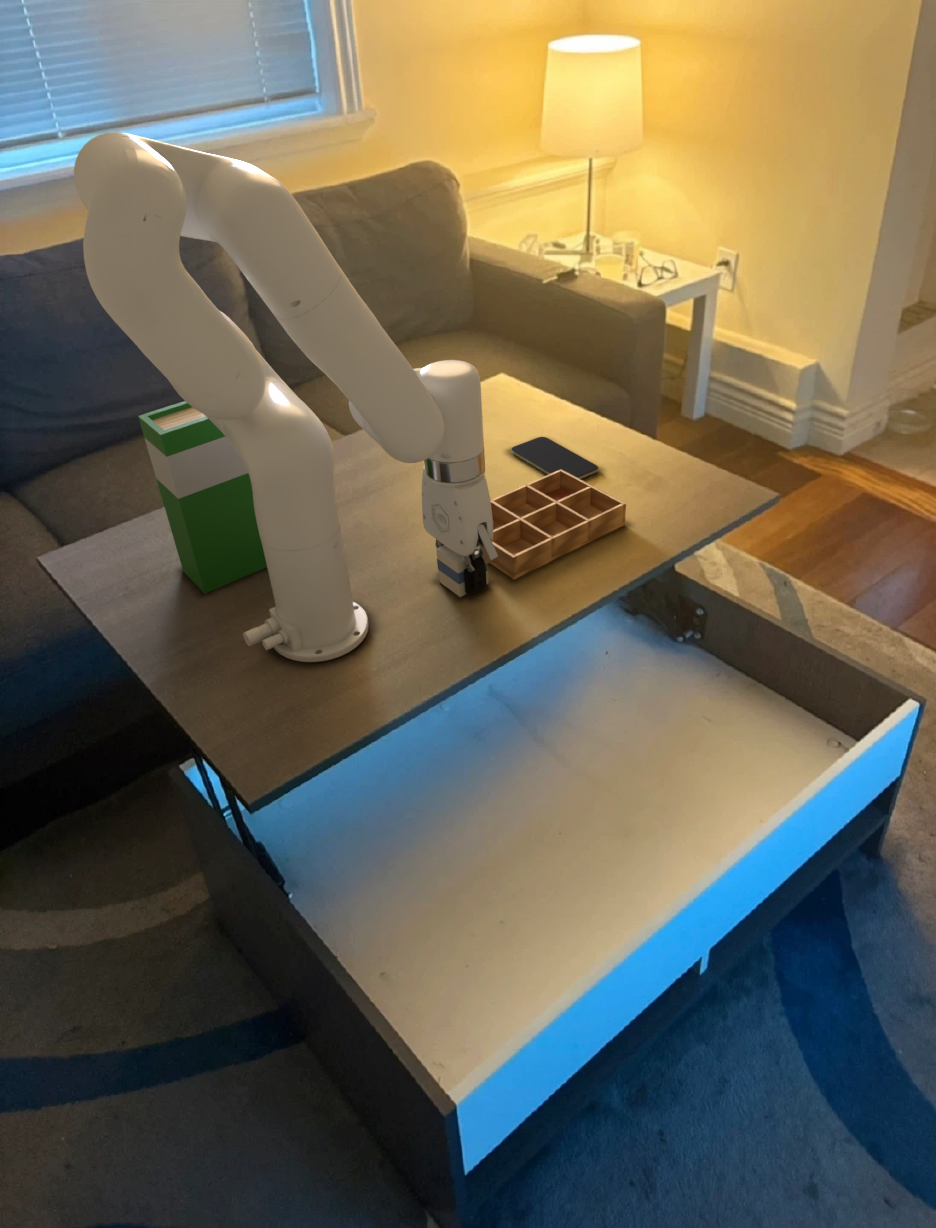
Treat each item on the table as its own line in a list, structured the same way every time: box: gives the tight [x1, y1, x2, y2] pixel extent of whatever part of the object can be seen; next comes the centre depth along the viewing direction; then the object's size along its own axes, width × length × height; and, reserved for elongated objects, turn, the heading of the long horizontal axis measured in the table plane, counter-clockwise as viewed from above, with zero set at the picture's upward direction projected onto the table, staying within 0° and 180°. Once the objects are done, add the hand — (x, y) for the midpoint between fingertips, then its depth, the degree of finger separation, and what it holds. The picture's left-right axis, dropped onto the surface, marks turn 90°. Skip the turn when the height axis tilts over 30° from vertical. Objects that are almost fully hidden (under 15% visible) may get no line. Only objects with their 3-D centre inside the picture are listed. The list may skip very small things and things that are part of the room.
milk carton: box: [435, 545, 489, 598], centre depth 127 cm, size 5×5×6 cm
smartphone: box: [511, 436, 599, 480], centre depth 155 cm, size 7×1×15 cm
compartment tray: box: [489, 469, 627, 581], centre depth 137 cm, size 21×14×4 cm
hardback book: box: [137, 400, 267, 594], centre depth 130 cm, size 18×7×24 cm, turn 127°
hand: (463, 580), depth 129 cm, fingers closed on milk carton, 4 cm apart
